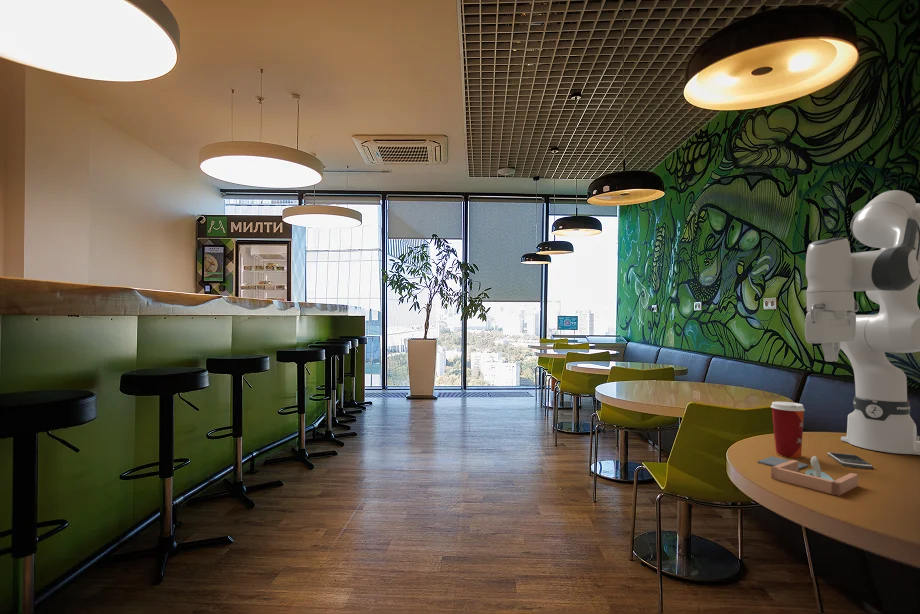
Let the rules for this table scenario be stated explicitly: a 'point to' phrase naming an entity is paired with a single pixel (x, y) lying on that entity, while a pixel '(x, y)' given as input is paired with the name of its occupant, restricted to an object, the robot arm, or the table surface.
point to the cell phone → (850, 460)
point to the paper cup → (788, 428)
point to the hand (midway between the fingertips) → (831, 361)
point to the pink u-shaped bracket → (813, 479)
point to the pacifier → (817, 470)
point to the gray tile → (779, 462)
